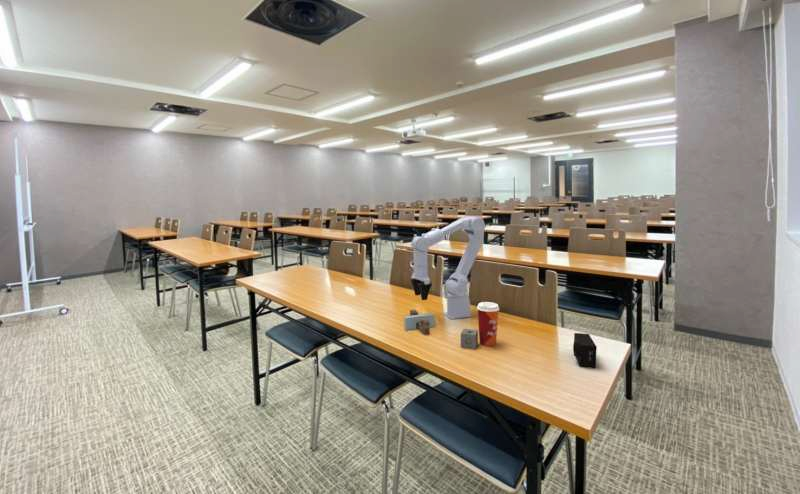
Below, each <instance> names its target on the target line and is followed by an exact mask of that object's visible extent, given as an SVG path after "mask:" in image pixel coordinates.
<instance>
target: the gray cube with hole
mask: <svg viewBox="0 0 800 494" xmlns="http://www.w3.org/2000/svg"><path fill="white" fill-rule="evenodd" d="M478 343H479V329H471V328H462V331H461V332H460V348H465V349H473V350H476V349H477V347H478Z"/></svg>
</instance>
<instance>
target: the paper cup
mask: <svg viewBox="0 0 800 494" xmlns="http://www.w3.org/2000/svg"><path fill="white" fill-rule="evenodd" d="M476 309H477V319H478V323H477V324H478V341H479V344H481V345H482V346H485V347H493V346H495V345H496V344H497V336H498V335H497V333H498V325H499V324H498V323H499V322H498V321H499V311H500V307H499V305H498V303H496V302H491V301H481V302H479V303H478V304H477V306H476Z"/></svg>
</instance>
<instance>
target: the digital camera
mask: <svg viewBox="0 0 800 494" xmlns="http://www.w3.org/2000/svg"><path fill="white" fill-rule="evenodd" d="M573 337H574V338H573V343H572V344H573V345H572V350H573V356H574V357H575V359H576V361H577V364H578V365H579V367H580V368H588V369H589V368H590V369H596V366H597V363H596V362H597V349H598V348H597V345H596V343H595V342H594V340H593V339H592V337H591V335H590V334H589V333H581V332H575V333H574V334H573Z"/></svg>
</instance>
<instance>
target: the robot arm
mask: <svg viewBox="0 0 800 494" xmlns="http://www.w3.org/2000/svg"><path fill="white" fill-rule="evenodd" d="M485 229H486V224H485V221H484V219H483V218H482V217H481V216H470V215H466V216H464V217H461V218H459V219H457V220H455V221H453V222H451V223H449V224H447V226H445V227H443V228H441V229H440V228H435V227H433V228H431V229H430V230H429V231H428V232H426V233H422V234H421V236H415V237H414V238H413V239H412V241H411V243H410V246H411V248H412V249H413V272H412V275H411V278H410V279H409V280H410V281H409V282H410V283H411V284H412V288H413V292H414V294H415V297H416V296H420V297H421V301H426V300H427V301H428V298H429V293H430V289H431V288H432V286H433V283H432V282H430V280H431V279H430V278H429V275H428V274H429V273H428V250H429V249H430V247H432V246H434V245H436V244H438V243H441V242H442V241H444V238H445V237H446V236H448V235H451V234H453V233H455V232H457V231H461V230H463V231H465V233H466V234H467V235H468V238H469V241H468V243H467V245H466V247H465V250H464V252H463V254H462V256H461V259H460V261H459V263H458V266H457V267H456V269H455V271H454V272H453V273H452V274H451V275H450V276H449V278H448V279H447V280H446V281H445V283H444V290H445V291H446V312H443V315H445V316H447V317H448V319H451V320H455V319H461V318H470V317H471V316H472V315H471V300H470V297H469V295H468V294H467V290H468V285H469V281H468V276H469V274H470V271H471V269H472V268H473V265H474V262H475V261H476V258H477V256H478V254H479V252H480V249H481V247H482V245H483V243H484V237H485V235H484V234H485Z"/></svg>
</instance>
